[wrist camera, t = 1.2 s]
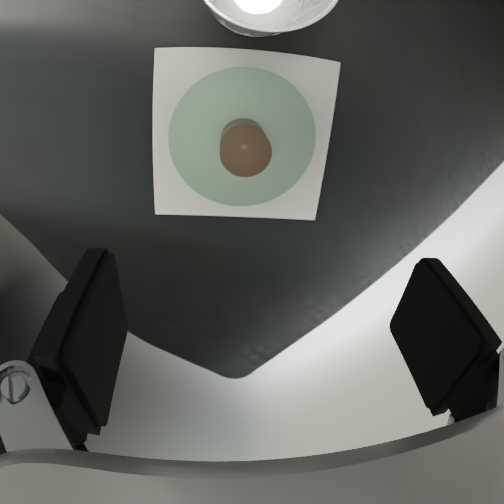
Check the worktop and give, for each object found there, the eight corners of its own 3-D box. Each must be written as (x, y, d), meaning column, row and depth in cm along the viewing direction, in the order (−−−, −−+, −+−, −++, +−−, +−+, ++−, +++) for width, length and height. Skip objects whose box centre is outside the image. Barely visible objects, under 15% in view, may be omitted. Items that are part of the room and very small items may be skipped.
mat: (338, 62, 23) (340, 62, 23) (313, 217, 31) (314, 220, 31) (156, 48, 21) (155, 47, 21) (156, 212, 29) (155, 214, 29)
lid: (321, 75, 23) (341, 79, 19) (302, 204, 30) (315, 231, 26) (172, 64, 22) (160, 65, 18) (170, 199, 28) (161, 226, 24)
